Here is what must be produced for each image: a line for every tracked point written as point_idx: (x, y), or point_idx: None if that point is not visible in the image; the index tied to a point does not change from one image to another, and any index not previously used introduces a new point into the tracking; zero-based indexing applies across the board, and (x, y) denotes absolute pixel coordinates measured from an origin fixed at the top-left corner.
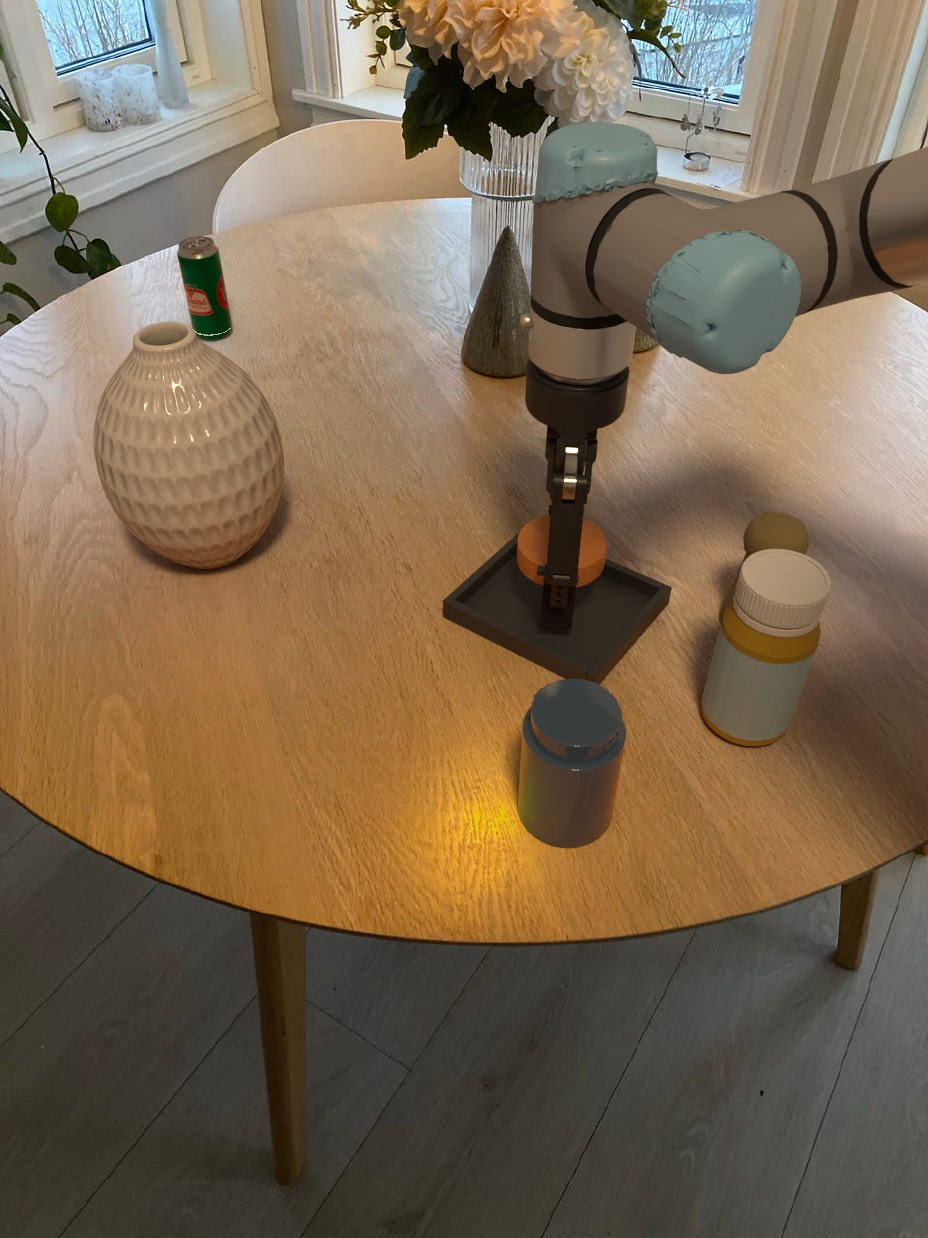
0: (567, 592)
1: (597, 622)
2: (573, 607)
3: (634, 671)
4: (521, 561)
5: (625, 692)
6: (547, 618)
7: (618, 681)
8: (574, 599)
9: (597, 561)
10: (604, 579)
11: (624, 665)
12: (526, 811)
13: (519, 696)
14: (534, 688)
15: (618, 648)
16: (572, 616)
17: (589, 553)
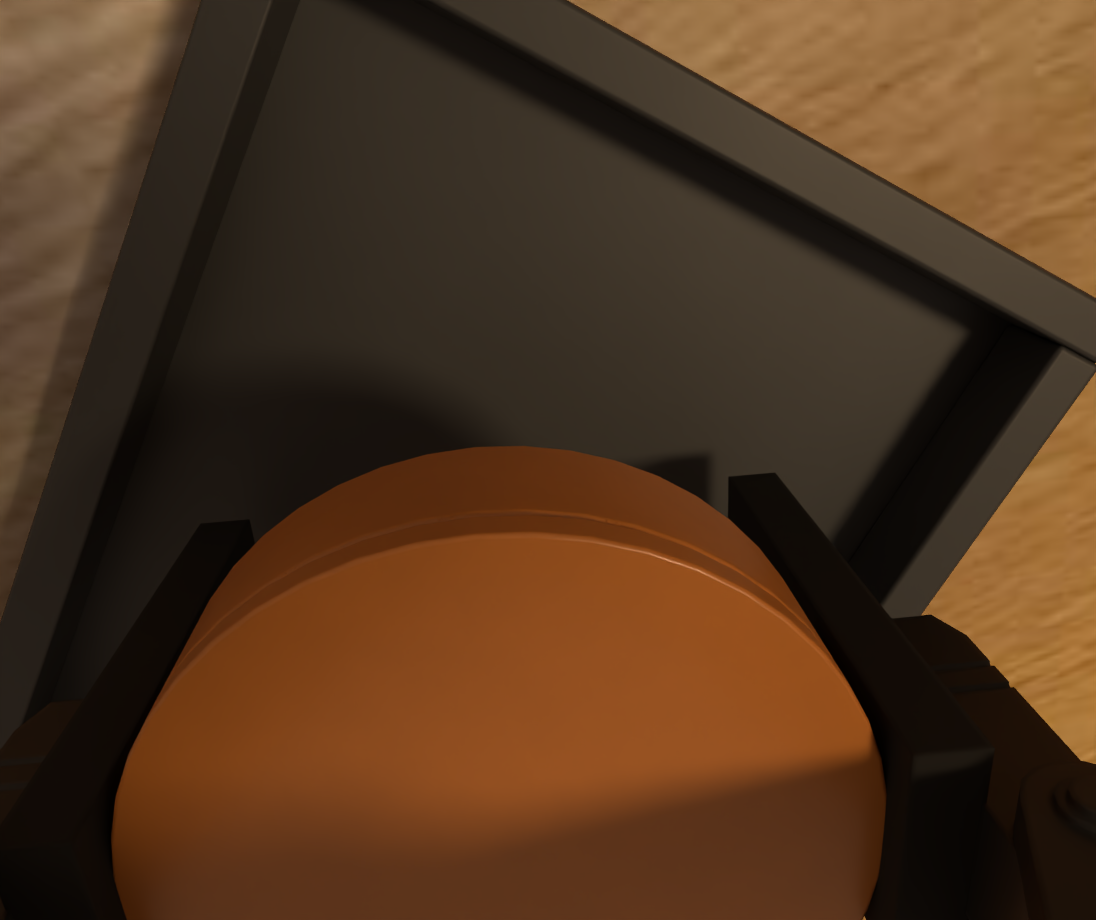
0: (1031, 714)
1: (594, 322)
2: (836, 553)
3: (909, 83)
4: None
5: (1058, 127)
6: None
7: (981, 169)
8: (861, 586)
9: (748, 586)
10: (210, 313)
11: (865, 143)
12: None
13: (1060, 593)
14: (1017, 545)
15: (921, 204)
16: (809, 519)
17: (645, 664)
